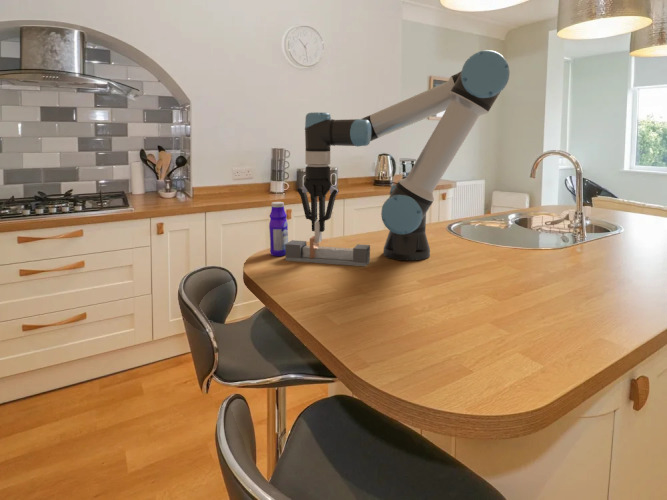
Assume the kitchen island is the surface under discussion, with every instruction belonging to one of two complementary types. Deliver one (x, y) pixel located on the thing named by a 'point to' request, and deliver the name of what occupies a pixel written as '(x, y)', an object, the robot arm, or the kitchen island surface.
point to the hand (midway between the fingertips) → (318, 241)
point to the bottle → (278, 229)
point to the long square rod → (328, 251)
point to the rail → (295, 254)
